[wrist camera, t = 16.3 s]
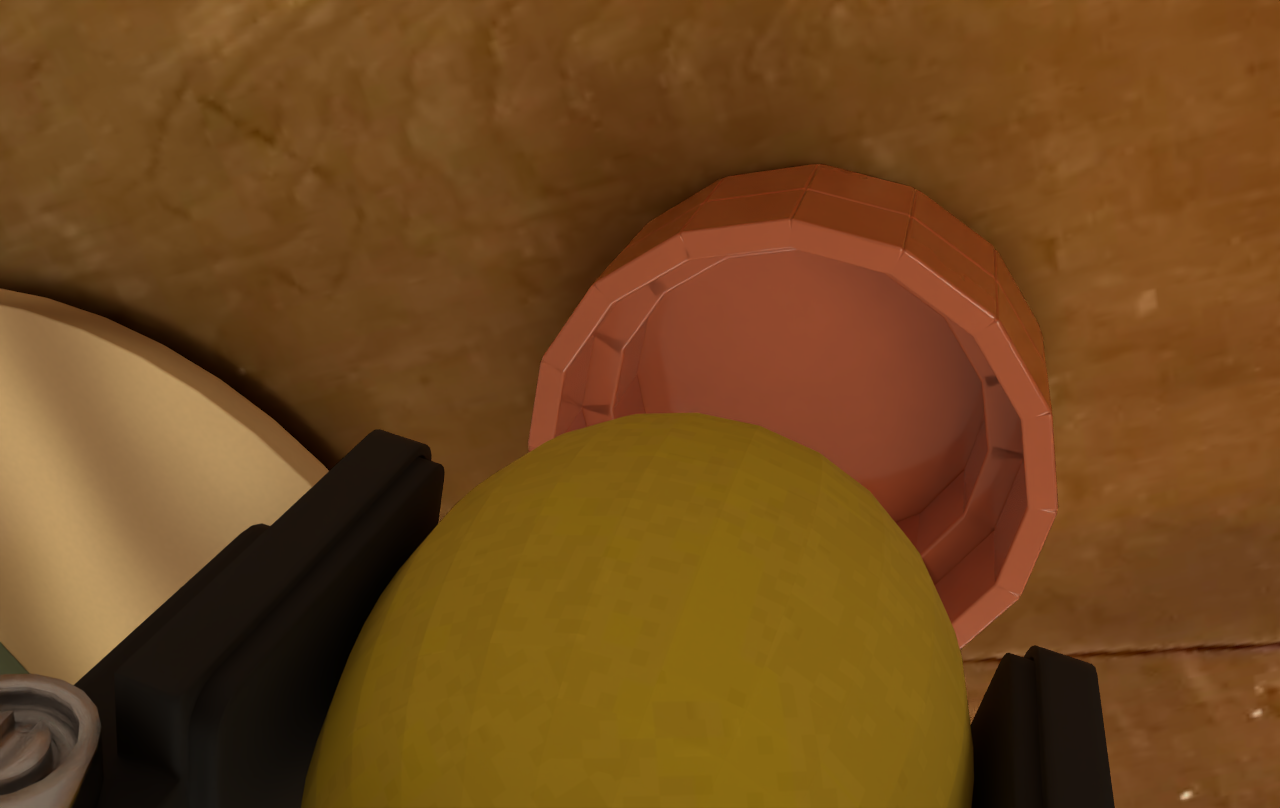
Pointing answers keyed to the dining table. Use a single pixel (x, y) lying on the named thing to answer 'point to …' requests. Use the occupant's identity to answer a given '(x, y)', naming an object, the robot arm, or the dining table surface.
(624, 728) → the lemon
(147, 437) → the dish rack
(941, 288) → the bowl
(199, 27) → the dining table surface
